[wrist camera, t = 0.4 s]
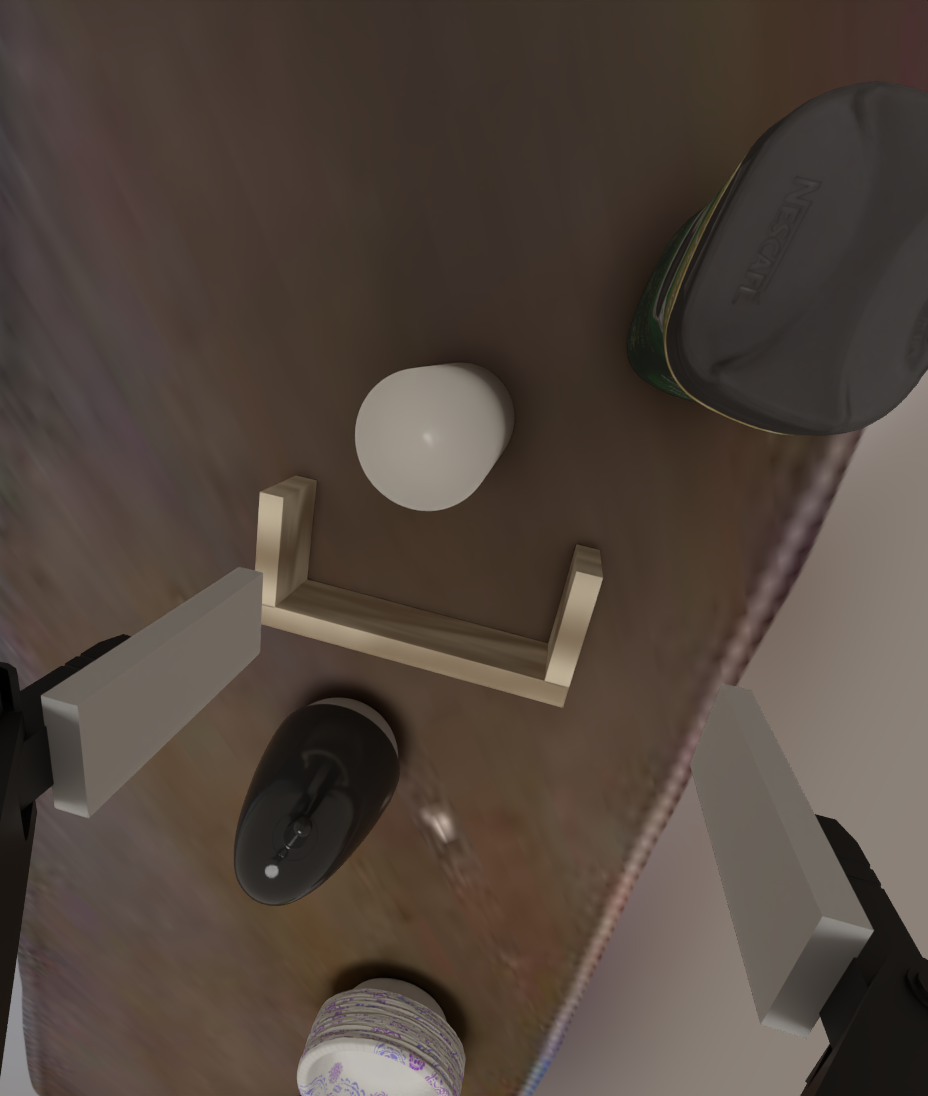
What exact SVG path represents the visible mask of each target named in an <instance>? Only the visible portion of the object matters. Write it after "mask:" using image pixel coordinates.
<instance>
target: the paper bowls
mask: <svg viewBox="0 0 928 1096" xmlns="http://www.w3.org/2000/svg"><path fill="white" fill-rule="evenodd" d="M464 1066H465V1054H464V1050H463V1046H462V1043H461V1041H460V1039H459V1038H458V1037H457V1034H456V1033H455V1031H454V1030H453V1029H452V1028H451V1027H450V1025H449V1024H448V1023H447V1021H446V1018H445V1015H444V1013H443V1011H442V1009H441V1008H440V1006H439V1005H438V1004H437V1002H436V1001H435V1000H434V999H433V998H432V997H431V996H430V995H429V994H428V993H426V992H425V991H423V990H422V989H420V988H419V987H417V986H415V985H413V984H411V983H408V982H405V981H402V980H398V979H392V978H376V979H371V980H368V981H365V982H363V983H361V984H359V985H358V986H356V987H355V988H354V989H353V990H349V991H346V992H341V993H339V994H336V995H334V996H333V997H331V998H329V999H328V1000H327V1001H326V1002H325V1003H324V1004H323V1005H322V1007H321V1008H320V1010H319V1012H318V1015H317V1017H316V1019H315V1021H314V1024H313V1026H312V1029H311V1032H310V1035H309V1037H308V1039H307V1042H306V1046H305V1050H304V1052H303V1054H302V1056H301V1059H300V1061H299V1065H298V1070H297V1082H298V1087H299V1090H300V1093H301V1095H302V1096H460V1092H461V1086H462V1080H463V1075H464Z"/></svg>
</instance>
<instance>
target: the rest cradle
mask: <svg viewBox="0 0 928 1096" xmlns="http://www.w3.org/2000/svg"><path fill="white" fill-rule="evenodd" d="M316 487H317V480H313V479H309V478H305V477H301V476H297V475H296V476H294V477H292V478H289V479H287V480H285V481H283V482H281V483H278V484H276V485H274V486H272V487H270V488H268V489H265V490H263V491H261V492H260V500H259V516H258V532H257V549H256V565H255V571H258V572H262V573H263V591H262V615H261V624H263V625H267V626H270V627H274V628H278V629H281V630H285V631H288V632H292V633H296V634H299V635H303V636H306V637H310V638H314V639H317V640H321V641H324V642H328V643H332V644H335V645H339V646H342V647H346V648H350V649H353V650H357V651H360V652H364V653H368V654H371V655H375V656H379V657H382V658H386V659H389V660H393V661H397V662H400V663H404V664H407V665H411V666H415V667H418V668H422V669H425V670H429V671H433V672H436V673H440V674H443V675H447V676H451V677H454V678H458V679H461V680H465V681H469V682H472V683H476V684H479V685H483V686H487V687H490V688H494V689H497V690H501V691H505V692H508V693H512V694H516V695H519V696H523V697H526V698H530V699H534V700H537V701H541V702H544V703H548V704H552V705H555V706H559V707H562V708H563V705H564V702H565V698H566V695H567V692H568V689H569V686H570V682H571V679H572V676H573V673H574V670H575V666H576V663H577V660H578V657H579V654H580V650H581V647H582V644H583V641H584V638H585V634H586V631H587V628H588V625H589V622H590V618H591V615H592V612H593V609H594V606H595V602H596V599H597V596H598V593H599V590H600V586H601V583H602V580H603V573H602V564H601V555H600V550H598V549H594V548H590V547H586V546H582V545H578V544H577V545H576V548H575V552H574V555H573V558H572V562H571V565H570V569H569V572H568V576H567V579H566V583H565V586H564V590H563V593H562V597H561V600H560V604H559V607H558V611H557V614H556V618H555V621H554V625H553V628H552V632H551V635H550V639H549V642H548V643H545V642H541V641H538V640H534V639H530V638H526V637H523V636H519V635H515V634H511V633H508V632H504V631H500V630H496V629H493V628H489V627H485V626H481V625H477V624H474V623H470V622H466V621H462V620H459V619H455V618H451V617H447V616H444V615H440V614H436V613H432V612H429V611H425V610H421V609H417V608H414V607H410V606H406V605H402V604H398V603H395V602H391V601H387V600H383V599H380V598H376V597H372V596H368V595H365V594H361V593H357V592H353V591H350V590H346V589H342V588H338V587H335V586H331V585H327V584H323V583H319V582H316V581H312V580H308V579H307V577H308V567H309V557H310V547H311V537H312V527H313V517H314V507H315V497H316Z"/></svg>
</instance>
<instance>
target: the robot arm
mask: <svg viewBox="0 0 928 1096" xmlns="http://www.w3.org/2000/svg"><path fill="white" fill-rule="evenodd" d="M262 591H263V573H262V572H258V571H254V570H250V569H246V568H242V567H238V568H237V569H235V570H234V571H232V572H230V573H229V574H227V575H226V576H224V577H223V578H221V579H220V580H218V581H217V582H215V583H214V584H212V585H210V586H209V587H207V588H206V589H204V590H203V591H201V592H200V593H198V594H197V595H195V596H193V597H192V598H190V599H189V600H187V601H186V602H184V603H183V604H181V605H180V606H178V607H177V608H175V609H173V610H172V611H170V612H169V613H167V614H166V615H164V616H163V617H161V618H160V619H158V620H157V621H155V622H153V623H152V624H150V625H149V626H147V627H146V628H144V629H143V630H141V631H140V632H138V633H137V634H135V635H133V636H128V635H124V634H122V635H119V636H117V637H114V638H111V639H108V640H105V641H102V642H99V643H98V644H96V645H94V646H93V647H91V648H89V649H88V650H86V651H85V652H83V653H81V655H80V657H78V656H76V657H75V658H73V659H72V660H70V661H68V662H67V663H65V666H60V667H59V668H57V669H55V670H54V671H52V672H51V673H49V674H47V675H46V676H44V677H42V678H41V679H39V680H38V681H36V682H34V683H33V684H31V685H30V686H28V687H26V688H25V689H23V690H21V691H20V689H19V682H18V675H17V670H16V668H15V667H13V666H12V665H10V664H8V663H4V662H0V1075H1V1068H2V1060H3V1053H4V1046H5V1039H6V1032H7V1024H8V1017H9V1010H10V1003H11V995H12V988H13V981H14V973H15V967H16V960H17V952H18V945H19V938H20V931H21V924H22V916H23V909H24V902H25V895H26V888H27V880H28V873H29V866H30V859H31V852H32V844H33V837H34V830H35V823H36V816H37V809H36V802H35V799H37V798H38V797H39V796H40V795H41V794H43V793H44V792H45V791H46V790H47V789H49V788H50V787H51V786H52V789H53V797H54V805H55V808H57V809H60V810H63V811H66V812H70V813H73V814H76V815H80V816H83V817H86V818H89V817H90V816H92V815H93V814H94V813H95V812H96V811H97V810H98V809H99V808H100V807H101V806H102V805H103V804H104V803H105V802H106V801H107V800H108V799H109V798H110V797H111V796H112V795H113V794H114V793H115V792H116V791H117V790H118V789H120V788H121V787H122V786H123V785H124V784H125V783H126V782H127V781H128V780H129V779H130V778H131V777H132V776H133V775H134V774H135V773H136V772H137V771H138V770H139V769H140V768H141V767H142V766H143V765H144V764H145V763H146V762H148V761H149V760H150V759H151V758H152V757H153V756H154V755H155V754H156V753H157V752H158V751H159V750H160V749H161V748H162V747H163V746H164V745H165V744H166V743H167V742H168V741H169V740H170V739H171V738H172V737H173V736H174V735H176V734H177V733H178V732H179V731H180V730H181V729H182V728H183V727H184V726H185V725H186V724H187V723H188V722H189V721H190V720H191V719H192V718H193V717H194V716H195V715H196V714H197V713H198V712H199V711H200V710H201V709H202V708H203V707H205V706H206V705H207V704H208V703H209V702H210V701H211V700H212V699H213V698H214V697H215V696H216V695H217V694H218V693H219V692H220V691H221V690H222V689H223V688H224V687H225V686H226V685H227V684H228V683H229V682H230V681H231V680H233V679H234V678H235V677H236V676H237V675H238V674H239V673H240V672H241V671H242V670H243V669H244V668H245V667H246V666H247V665H248V664H249V663H250V662H251V661H252V660H253V659H254V658H255V657H256V656H257V655H258V654H259V653H260V639H261V615H262ZM690 767H691V771H692V774H693V778H694V781H695V785H696V789H697V793H698V796H699V800H700V803H701V807H702V811H703V815H704V818H705V822H706V826H707V829H708V833H709V836H710V840H711V844H712V848H713V851H714V855H715V859H716V862H717V866H718V870H719V874H720V877H721V881H722V885H723V888H724V892H725V896H726V899H727V903H728V907H729V910H730V914H731V917H732V921H733V925H734V929H735V932H736V936H737V940H738V943H739V947H740V951H741V955H742V958H743V962H744V966H745V969H746V973H747V976H748V980H749V984H750V987H751V991H752V995H753V999H754V1002H755V1006H756V1010H757V1013H758V1017H759V1021H760V1024H761V1025H764V1026H767V1027H770V1028H774V1029H777V1030H780V1031H783V1032H787V1033H790V1034H793V1035H796V1036H800V1037H803V1038H807V1036H808V1035H809V1033H810V1032H811V1030H812V1028H813V1027H814V1025H815V1024H816V1022H817V1021H818V1019H819V1017H821V1020H822V1023H823V1026H824V1028H825V1031H826V1034H827V1036H828V1039H829V1042H830V1044H829V1046H828V1047H827V1049H826V1050H825V1052H824V1053H823V1055H822V1056H821V1058H820V1060H819V1061H818V1062H817V1064H816V1066H815V1067H814V1069H813V1070H812V1072H811V1073H810V1075H809V1076H808V1078H807V1080H806V1082H807V1084H806V1086H805V1088H804V1090H803V1092H802V1094H801V1096H928V960H927V959H925V958H923V957H922V956H921V954H920V952H919V950H918V949H917V947H916V945H915V943H914V941H913V940H912V938H911V936H910V934H909V933H908V931H907V929H906V927H905V926H904V924H903V922H902V920H901V918H900V917H899V915H898V913H897V912H896V910H895V908H894V906H893V905H892V903H891V901H890V899H889V897H888V896H887V894H886V892H885V890H884V889H882V888H881V883H880V881H879V880H878V878H877V876H876V874H875V873H874V871H873V870H872V869H870V864H869V862H868V860H867V859H866V857H865V855H864V853H863V851H862V850H861V848H860V846H859V844H858V843H857V842H856V840H855V839H854V838H853V837H852V836H851V835H850V834H849V833H848V832H847V831H846V830H845V829H844V828H843V827H842V826H841V825H840V824H839V823H838V822H837V820H835V819H831V818H827V817H824V816H820V815H816V814H814V812H813V810H812V809H811V806H810V804H809V802H808V800H807V798H806V797H805V794H804V793H803V791H802V789H801V787H800V785H799V783H798V781H797V779H796V777H795V775H794V773H793V771H792V769H791V767H790V765H789V764H788V761H787V759H786V757H785V755H784V754H783V751H782V749H781V748H780V745H779V744H778V742H777V740H776V738H775V736H774V734H773V732H772V730H771V728H770V726H769V724H768V722H767V720H766V718H765V716H764V714H763V712H762V710H761V708H760V706H759V704H758V702H757V700H756V699H755V696H754V695H753V692H752V691H751V690H747V689H744V688H739V687H735V686H731V685H727V684H723V683H722V684H721V687H720V689H719V692H718V694H717V697H716V699H715V702H714V704H713V707H712V709H711V712H710V714H709V717H708V720H707V722H706V725H705V727H704V730H703V732H702V735H701V737H700V740H699V742H698V745H697V747H696V750H695V753H694V755H693V758H692V760H691V763H690Z"/></svg>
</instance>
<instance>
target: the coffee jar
mask: <svg viewBox="0 0 928 1096" xmlns="http://www.w3.org/2000/svg"><path fill="white" fill-rule="evenodd" d="M627 350H628V357H629V360H630V363H631V365H632V367H633V369H634V370H635V372H636V373H637V374H638V375H639V376H640V377H641V378H642V379H643V380H645V381H646V382H648V383H649V384H651V385H652V386H654V387H656V388H658V389H660V390H663V391H665V392H667V393H669V394H671V395H674V396H677V397H680V398H683V399H686V400H689V401H694V402H698V403H700V404H702V405H703V406H705V407H707V408H708V409H710V410H712V411H714V412H717V413H719V414H721V415H723V416H725V417H727V418H730V419H732V420H734V421H737V422H739V423H742V424H744V425H747V426H750V427H753V428H756V429H759V430H763V431H767V432H771V433H776V434H782V435H815V436H822V435H833V434H841V433H847V432H851V431H855V430H858V429H862V428H864V427H866V426H868V425H870V424H872V423H874V422H875V421H877V420H879V419H880V418H882V417H884V416H885V415H887V414H888V413H889V412H890V411H892V410H893V409H894V408H895V407H897V406H898V405H899V404H900V403H901V402H902V401H903V400H904V399H905V398H906V397H907V396H908V394H909V393H910V392H911V391H912V390H913V388H914V387H915V386H916V385H917V384H918V382H919V380H920V379H921V377H922V376H923V375H924V373H925V372H926V371H927V370H928V92H926V91H922V90H919V89H915V88H911V87H907V86H903V85H900V84H894V83H888V82H876V81H875V82H868V83H860V84H854V85H849V86H845V87H841V88H838V89H834V90H832V91H829V92H827V93H824V94H822V95H820V96H817V97H815V98H813V99H811V100H809V101H807V102H806V103H804V104H803V105H801V106H800V107H798V108H797V109H795V110H794V111H793V112H791V113H790V114H788V115H787V116H786V117H784V118H783V119H781V120H780V121H779V122H777V123H776V124H775V125H773V126H772V127H771V128H769V129H768V130H767V131H766V132H765V133H764V134H763V135H762V136H761V137H760V138H759V139H758V140H757V141H756V143H755V144H754V145H753V146H752V148H751V149H750V150H749V151H748V153H747V154H746V155H745V157H744V158H743V160H742V161H741V162H740V164H739V165H738V167H737V168H736V169H735V171H734V172H733V174H732V175H731V176H730V178H729V179H728V181H727V182H726V183H725V185H724V186H723V188H722V189H721V190H720V192H719V193H718V194H717V196H716V197H715V198H714V199H713V200H712V201H711V202H710V203H709V204H708V205H707V206H705V207H704V208H703V209H702V210H701V211H699V212H698V213H697V214H695V215H694V216H693V217H692V218H690V219H689V220H688V221H687V222H686V223H685V224H684V225H683V226H682V227H681V228H680V229H679V230H678V231H677V233H676V234H675V235H674V236H673V238H672V239H671V241H670V243H669V244H668V246H667V248H666V249H665V251H664V252H663V254H662V256H661V258H660V260H659V261H658V263H657V265H656V267H655V268H654V271H653V273H652V275H651V277H650V279H649V281H648V283H647V285H646V288H645V290H644V292H643V295H642V297H641V299H640V302H639V304H638V307H637V310H636V312H635V315H634V318H633V321H632V325H631V328H630V331H629V335H628V342H627Z"/></svg>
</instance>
